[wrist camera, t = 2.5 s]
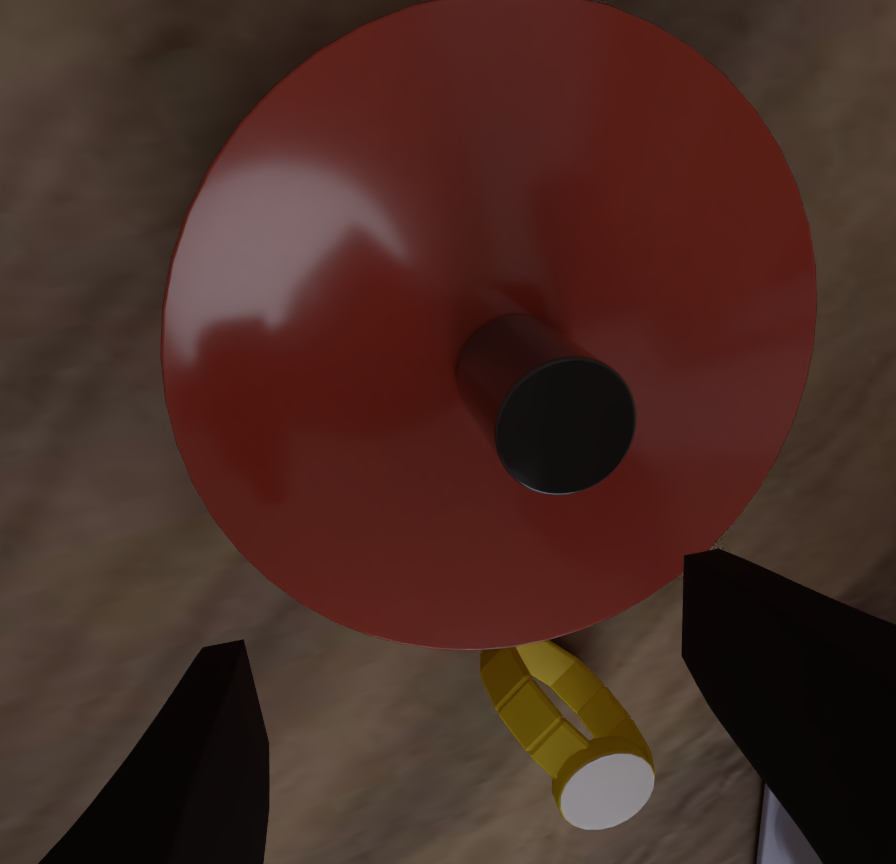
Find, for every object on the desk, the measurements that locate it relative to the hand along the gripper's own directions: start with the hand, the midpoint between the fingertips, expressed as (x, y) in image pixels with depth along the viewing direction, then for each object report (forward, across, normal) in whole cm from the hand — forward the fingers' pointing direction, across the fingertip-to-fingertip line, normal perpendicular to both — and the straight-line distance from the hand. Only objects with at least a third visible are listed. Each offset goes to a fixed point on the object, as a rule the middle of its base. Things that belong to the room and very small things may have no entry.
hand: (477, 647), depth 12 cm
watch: (+11, -4, +9) cm, 14 cm away
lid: (+5, -2, -3) cm, 6 cm away
